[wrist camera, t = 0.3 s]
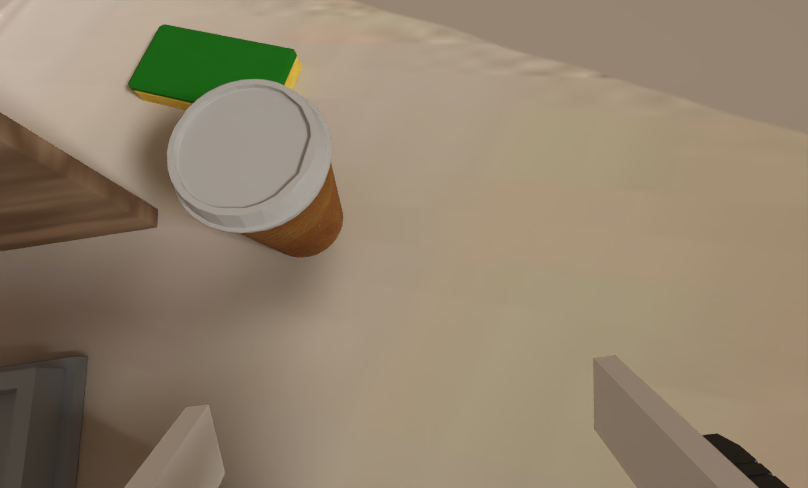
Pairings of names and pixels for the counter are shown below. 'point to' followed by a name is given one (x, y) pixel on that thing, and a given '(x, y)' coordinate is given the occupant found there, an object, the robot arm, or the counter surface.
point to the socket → (41, 422)
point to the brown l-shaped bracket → (58, 195)
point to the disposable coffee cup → (258, 166)
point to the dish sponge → (206, 65)
